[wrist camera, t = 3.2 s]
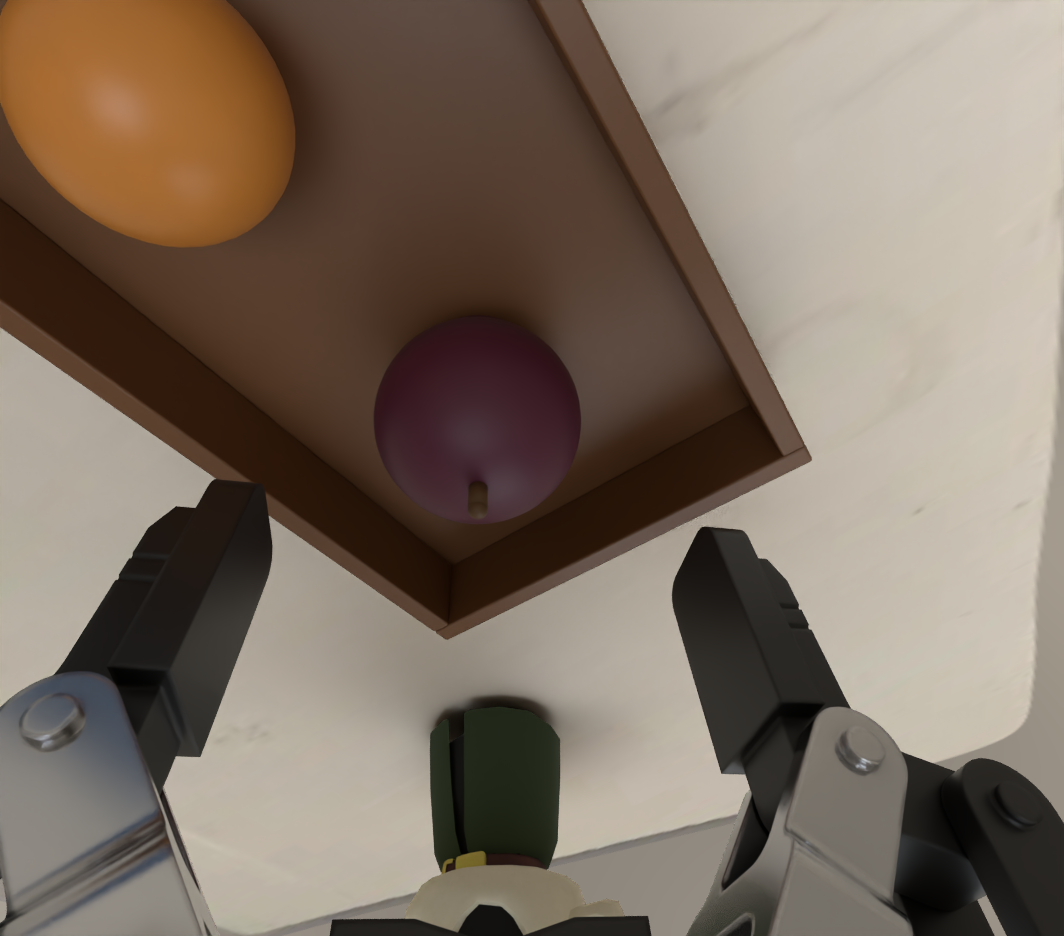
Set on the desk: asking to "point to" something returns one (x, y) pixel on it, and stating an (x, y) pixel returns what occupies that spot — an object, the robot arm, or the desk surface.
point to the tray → (422, 298)
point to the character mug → (498, 829)
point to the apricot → (149, 113)
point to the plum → (477, 420)
